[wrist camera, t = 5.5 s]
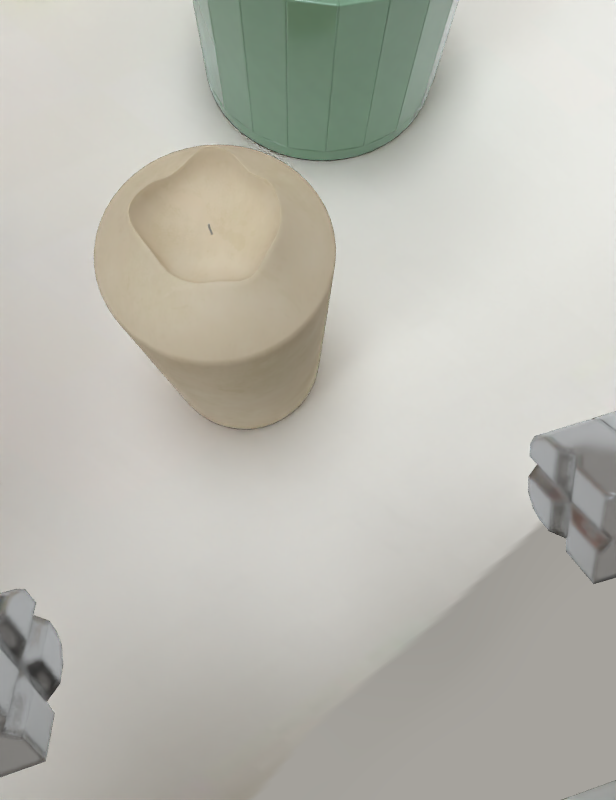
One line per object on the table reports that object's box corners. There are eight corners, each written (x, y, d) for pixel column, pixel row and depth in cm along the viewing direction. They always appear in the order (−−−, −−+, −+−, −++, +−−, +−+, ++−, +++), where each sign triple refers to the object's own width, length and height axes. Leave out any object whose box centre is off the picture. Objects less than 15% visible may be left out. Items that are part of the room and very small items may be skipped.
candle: (163, 422, 20) (39, 325, 10) (186, 286, 21) (94, 82, 11) (311, 438, 20) (328, 355, 10) (325, 301, 21) (352, 110, 11)
